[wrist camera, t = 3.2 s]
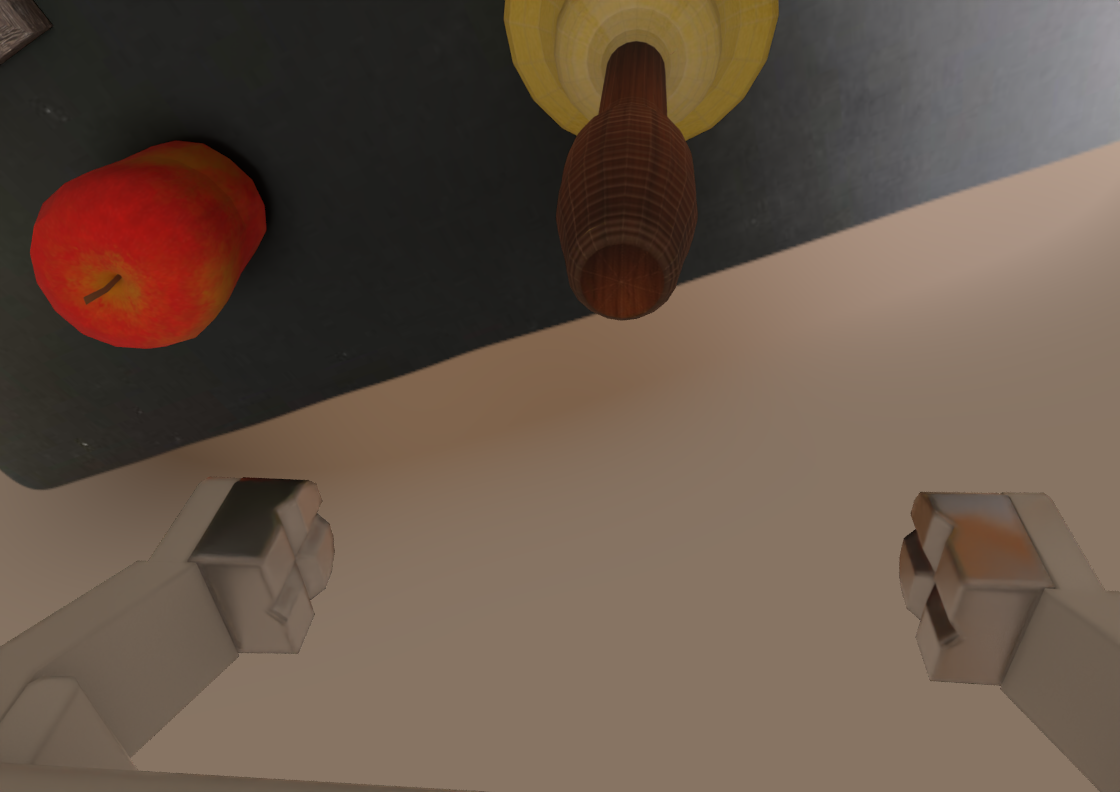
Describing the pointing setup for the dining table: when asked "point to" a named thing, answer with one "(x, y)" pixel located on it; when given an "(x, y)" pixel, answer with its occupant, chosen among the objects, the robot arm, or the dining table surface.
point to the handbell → (634, 126)
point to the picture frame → (19, 26)
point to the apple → (148, 244)
